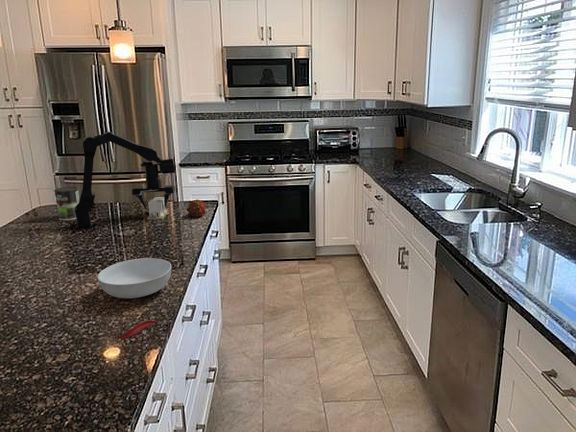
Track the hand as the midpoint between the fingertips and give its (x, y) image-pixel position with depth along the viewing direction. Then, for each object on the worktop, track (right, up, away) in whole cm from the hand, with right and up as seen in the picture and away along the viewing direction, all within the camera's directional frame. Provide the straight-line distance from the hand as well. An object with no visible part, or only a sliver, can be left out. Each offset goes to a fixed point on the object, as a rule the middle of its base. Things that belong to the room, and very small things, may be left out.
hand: (155, 208), depth 220 cm
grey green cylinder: (-42, -5, +5) cm, 43 cm away
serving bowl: (+17, -27, -79) cm, 85 cm away
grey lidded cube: (0, -3, +1) cm, 4 cm away
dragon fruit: (+19, -4, +2) cm, 20 cm away
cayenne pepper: (+24, -33, -102) cm, 110 cm away
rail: (0, -3, +5) cm, 6 cm away
